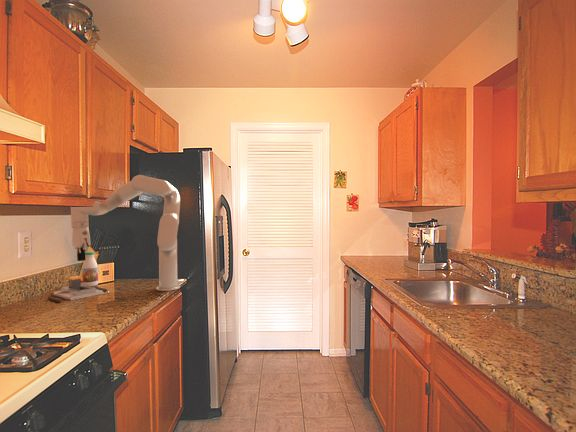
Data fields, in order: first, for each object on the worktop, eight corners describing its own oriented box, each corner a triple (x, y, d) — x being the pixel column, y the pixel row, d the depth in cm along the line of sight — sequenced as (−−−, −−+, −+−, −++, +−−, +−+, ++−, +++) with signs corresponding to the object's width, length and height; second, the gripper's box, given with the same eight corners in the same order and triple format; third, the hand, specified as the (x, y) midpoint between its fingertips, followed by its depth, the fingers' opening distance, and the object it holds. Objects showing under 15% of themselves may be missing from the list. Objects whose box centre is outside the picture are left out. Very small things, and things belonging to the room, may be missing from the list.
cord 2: (91, 289, 176) (91, 287, 176) (96, 288, 178) (96, 286, 178) (102, 292, 169) (102, 290, 169) (107, 291, 171) (107, 289, 171)
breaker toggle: (77, 288, 170) (77, 276, 170) (80, 289, 168) (80, 276, 167) (69, 290, 166) (68, 277, 166) (72, 291, 164) (72, 278, 164)
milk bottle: (80, 286, 183) (79, 252, 183) (94, 283, 190) (93, 250, 190) (86, 287, 179) (85, 253, 179) (100, 285, 185) (99, 251, 185)
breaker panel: (85, 288, 176) (84, 282, 176) (103, 293, 165) (102, 287, 165) (53, 294, 164) (53, 288, 164) (70, 300, 153) (70, 293, 153)
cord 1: (48, 299, 155) (48, 297, 155) (51, 298, 156) (51, 296, 156) (59, 303, 148) (59, 300, 148) (62, 302, 149) (62, 300, 149)
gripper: (94, 225, 162) (96, 260, 162) (81, 225, 170) (82, 258, 170) (78, 225, 155) (80, 262, 156) (65, 225, 164) (66, 260, 164)
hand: (81, 260), depth 163 cm, fingers closed
